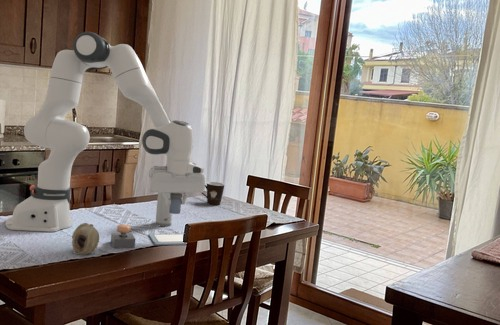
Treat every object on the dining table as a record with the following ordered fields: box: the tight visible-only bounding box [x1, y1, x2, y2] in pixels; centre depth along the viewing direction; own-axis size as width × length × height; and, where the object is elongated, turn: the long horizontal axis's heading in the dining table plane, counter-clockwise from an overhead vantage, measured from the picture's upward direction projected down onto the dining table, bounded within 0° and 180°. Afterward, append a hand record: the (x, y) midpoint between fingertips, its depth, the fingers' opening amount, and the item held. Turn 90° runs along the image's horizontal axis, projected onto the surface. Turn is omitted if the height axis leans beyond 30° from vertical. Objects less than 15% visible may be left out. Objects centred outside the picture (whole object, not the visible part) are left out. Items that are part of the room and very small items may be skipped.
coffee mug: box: [201, 181, 225, 206], centre depth 253 cm, size 12×9×10 cm
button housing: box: [110, 232, 136, 249], centre depth 179 cm, size 7×7×3 cm
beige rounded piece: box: [71, 222, 100, 256], centre depth 167 cm, size 9×8×10 cm
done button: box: [116, 224, 132, 237], centre depth 178 cm, size 4×4×5 cm
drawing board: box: [148, 233, 186, 246], centre depth 190 cm, size 14×11×1 cm
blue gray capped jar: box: [169, 193, 183, 215], centre depth 189 cm, size 4×4×7 cm
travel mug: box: [155, 193, 173, 227], centre depth 207 cm, size 6×7×20 cm
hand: (175, 204), depth 189 cm, fingers closed on blue gray capped jar, 4 cm apart
